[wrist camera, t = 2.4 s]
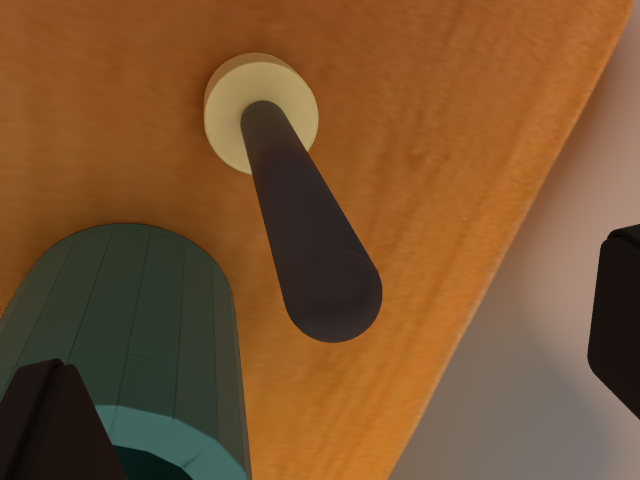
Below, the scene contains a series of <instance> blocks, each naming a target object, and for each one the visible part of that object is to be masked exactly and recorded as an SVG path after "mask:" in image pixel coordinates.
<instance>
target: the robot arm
mask: <svg viewBox="0 0 640 480" xmlns="http://www.w3.org/2000/svg"><path fill="white" fill-rule="evenodd" d="M587 358H588V363H589V365H590V368H591V369H592V371H593V373H594V374H595V375H596V376H597V377H598V378H599V379H600V380H601V381H602V382H603V383H604V384H605V385H606V386H607V387H608V388H609V389H610V390H611V391H612V392H613V393H614V394H615V395H616V396H617V397H618V398H619V399H620V400H621V401H622V402H623V403H624V404H625V405H626V407H628V409H629V410H631V412H632V413H633V414H635V416H636V417H638V419H639V420H640V224H638V225H634V226H630V227H625V228H620V229H616V230H613V231H612V232H611V233H610V234H609V235H608V237H607V240H605V241H604V242H603V243H602V245H601V248H600V257H599V264H598V272H597V280H596V289H595V297H594V305H593V313H592V322H591V330H590V337H589V345H588V354H587ZM0 480H127V476H126V473H125V471H124V469H123V467H122V465H121V462H120V460H119V458H118V456H117V454H116V452H115V449H114V447H113V445H112V443H111V441H110V438H109V436H108V434H107V432H106V430H105V428H104V425H103V423H102V421H101V419H100V417H99V415H98V412H97V410H96V408H95V406H94V404H93V402H92V399H91V397H90V395H89V393H88V391H87V389H86V386H85V384H84V382H83V380H82V378H81V376H80V373H79V371H78V369H77V368H76V366H75V365H73V364H69V365H65V364H64V363H63V362H62V361H61V360H60V359H58V358H55V359H50V360H46V361H42V362H37V363H33V364H29V365H24V366H21V367H19V368H18V369H17V370H16V372H15V374H14V376H13V378H12V380H11V382H10V384H9V386H8V388H7V390H6V392H5V394H4V396H3V398H2V400H1V402H0Z"/></svg>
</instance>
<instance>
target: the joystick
mask: <svg viewBox="0 0 640 480" xmlns="http://www.w3.org/2000/svg"><path fill="white" fill-rule="evenodd" d="M318 120H319V116H318V108H317V103H316V100H315V97H314V95H313V93H312V91H311V89H310V88H309V86H308V85H307V83H306V82H305V81H304V80H303V79H302V78H301V77H300V76H299V75H298V74H297V72H296V71H295V70H294V69H293V68H292V67H291V66H289V65H288V64H287V63H286V62H284V61H283V60H281V59H279V58H277V57H275V56H273V55H269V54H265V53H257V52H252V53H245V54H241V55H238V56H235V57H233V58H231V59H229V60H227V61H226V62H225V63H223V64H222V65H221V66H220V67H219V68H218V69H217V70H216V71H215V72H214V74H213V75H212V77H211V78H210V80H209V82H208V85H207V87H206V90H205V95H204V126H205V132H206V135H207V138H208V141H209V143H210V145H211V147H212V148H213V150H214V151H215V153H216V154H217V155H218V156H219V158H221V159H222V160H223V161H224V162H225V163H226V164H228V165H229V166H230V167H232V168H234V169H236V170H238V171H240V172H243V173H247V174H251V175H252V176H253V180H254V184H255V188H256V192H257V196H258V200H259V204H260V208H261V211H262V215H263V219H264V223H265V227H266V231H267V235H268V239H269V243H270V247H271V251H272V255H273V259H274V263H275V267H276V271H277V275H278V279H279V283H280V287H281V291H282V295H283V299H284V303H285V306H286V310H287V312H288V314H289V316H290V318H291V320H292V321H293V323H294V324H295V325H296V326H297V327H298V328H299V329H300V330H301V331H302V332H303V333H304V334H306V335H308V336H309V337H311V338H313V339H316V340H319V341H322V342H327V343H337V342H344V341H347V340H351V339H353V338H355V337H357V336H359V335H360V334H362V333H363V332H364V331H366V330H367V329H368V328H369V327H370V326H371V325H372V323H373V322H374V320H375V319H376V317H377V315H378V313H379V310H380V307H381V303H382V284H381V279H380V277H379V274H378V271H377V270H376V268H375V266H374V264H373V262H372V261H371V259H370V257H369V256H368V254H367V252H366V251H365V249H364V247H363V246H362V244H361V242H360V240H359V239H358V237H357V235H356V234H355V232H354V230H353V229H352V227H351V225H350V223H349V222H348V220H347V218H346V217H345V215H344V213H343V212H342V210H341V208H340V207H339V205H338V203H337V201H336V200H335V198H334V196H333V195H332V193H331V191H330V190H329V188H328V186H327V185H326V183H325V181H324V179H323V178H322V176H321V174H320V173H319V171H318V169H317V168H316V166H315V164H314V162H313V161H312V159H311V157H310V156H309V154H308V151H309V149H310V148H311V146H312V144H313V142H314V140H315V137H316V134H317V129H318Z"/></svg>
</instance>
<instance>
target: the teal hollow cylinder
mask: <svg viewBox="0 0 640 480" xmlns="http://www.w3.org/2000/svg"><path fill="white" fill-rule="evenodd" d="M55 358H58V359H60V360H61V361H62V362H63V363H64V364H65V365H69V364H73V365H75V366H76V368H77V369H78V371H79V373H80V376H81V378H82V380H83V382H84V384H85V386H86V389H87V391H88V393H89V395H90V397H91V399H92V402H93V404H94V406H95V408H96V410H97V412H98V415H99V417H100V419H101V421H102V423H103V425H104V428H105V430H106V432H107V434H108V436H109V438H110V441H111V443H112V445H113V447H114V449H115V452H116V454H117V456H118V458H119V460H120V462H121V465H122V467H123V469H124V471H125V473H126V476H127V480H252V471H251V461H250V451H249V441H248V431H247V421H246V411H245V401H244V391H243V381H242V371H241V361H240V351H239V341H238V331H237V321H236V312H235V308H234V303H233V297H232V292H231V289H230V286H229V284H228V281H227V279H226V277H225V276H224V274H223V272H222V270H221V269H220V268H219V266H218V265H217V264H216V262H215V261H214V260H213V259H212V258H211V257H210V256H209V255H208V254H207V253H206V252H205V251H203V250H202V249H201V248H200V247H198V246H197V245H196V244H194V243H192V242H191V241H189V240H187V239H186V238H184V237H182V236H180V235H177V234H175V233H173V232H170V231H167V230H164V229H161V228H158V227H153V226H147V225H141V224H129V223H126V224H109V225H102V226H96V227H93V228H89V229H85V230H82V231H80V232H77V233H75V234H72V235H70V236H68V237H66V238H64V239H63V240H61V241H59V242H57V243H56V244H55V245H53V246H52V247H51V248H49V249H48V250H47V251H46V252H45V253H44V254H43V255H42V256H41V257H40V258H39V259H38V260H37V261H36V263H35V264H34V265H33V267H32V268H31V270H30V271H29V273H28V274H27V275H26V276H25V277H24V279H23V280H22V282H21V284H20V286H19V287H18V289H17V291H16V293H15V294H14V296H13V298H12V299H11V301H10V303H9V305H8V306H7V308H6V310H5V311H4V313H3V315H2V317H1V318H0V402H1V400H2V398H3V396H4V394H5V392H6V390H7V388H8V386H9V384H10V382H11V380H12V378H13V376H14V374H15V372H16V370H17V369H18V368H19V367H21V366H24V365H29V364H33V363H37V362H42V361H46V360H50V359H55Z"/></svg>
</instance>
